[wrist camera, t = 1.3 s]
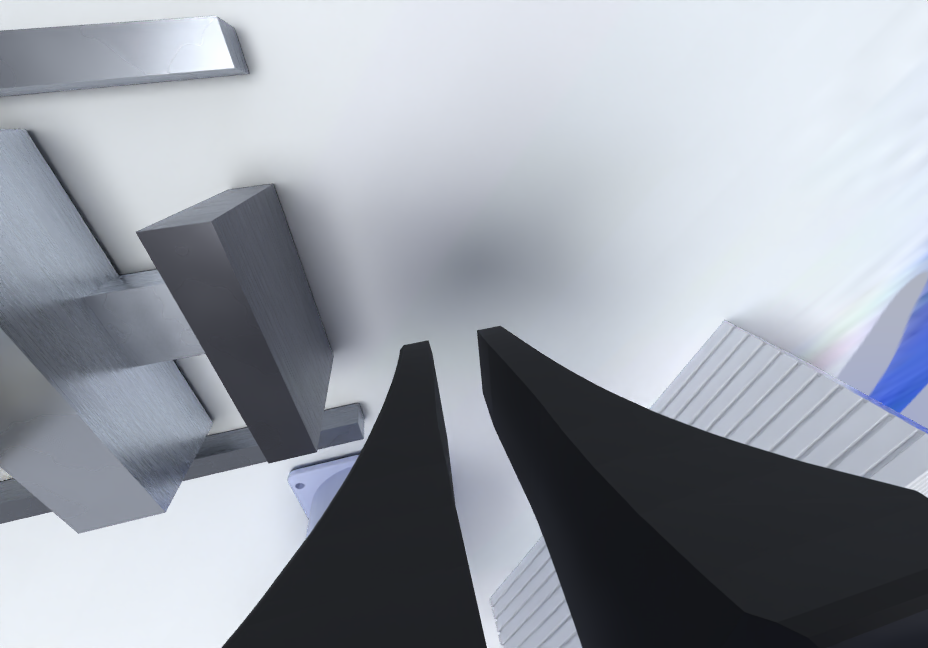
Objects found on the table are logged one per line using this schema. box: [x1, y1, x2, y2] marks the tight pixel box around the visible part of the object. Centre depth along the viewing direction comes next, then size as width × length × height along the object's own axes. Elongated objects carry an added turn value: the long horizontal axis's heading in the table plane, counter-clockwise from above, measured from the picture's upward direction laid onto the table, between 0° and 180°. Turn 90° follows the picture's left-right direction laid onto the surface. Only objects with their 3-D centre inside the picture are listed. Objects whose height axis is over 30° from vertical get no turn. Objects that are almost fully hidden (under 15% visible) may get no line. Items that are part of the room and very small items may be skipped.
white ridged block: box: [490, 320, 928, 648], centre depth 26 cm, size 32×11×11 cm, turn 153°
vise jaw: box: [0, 129, 333, 534], centre depth 12 cm, size 13×10×6 cm
